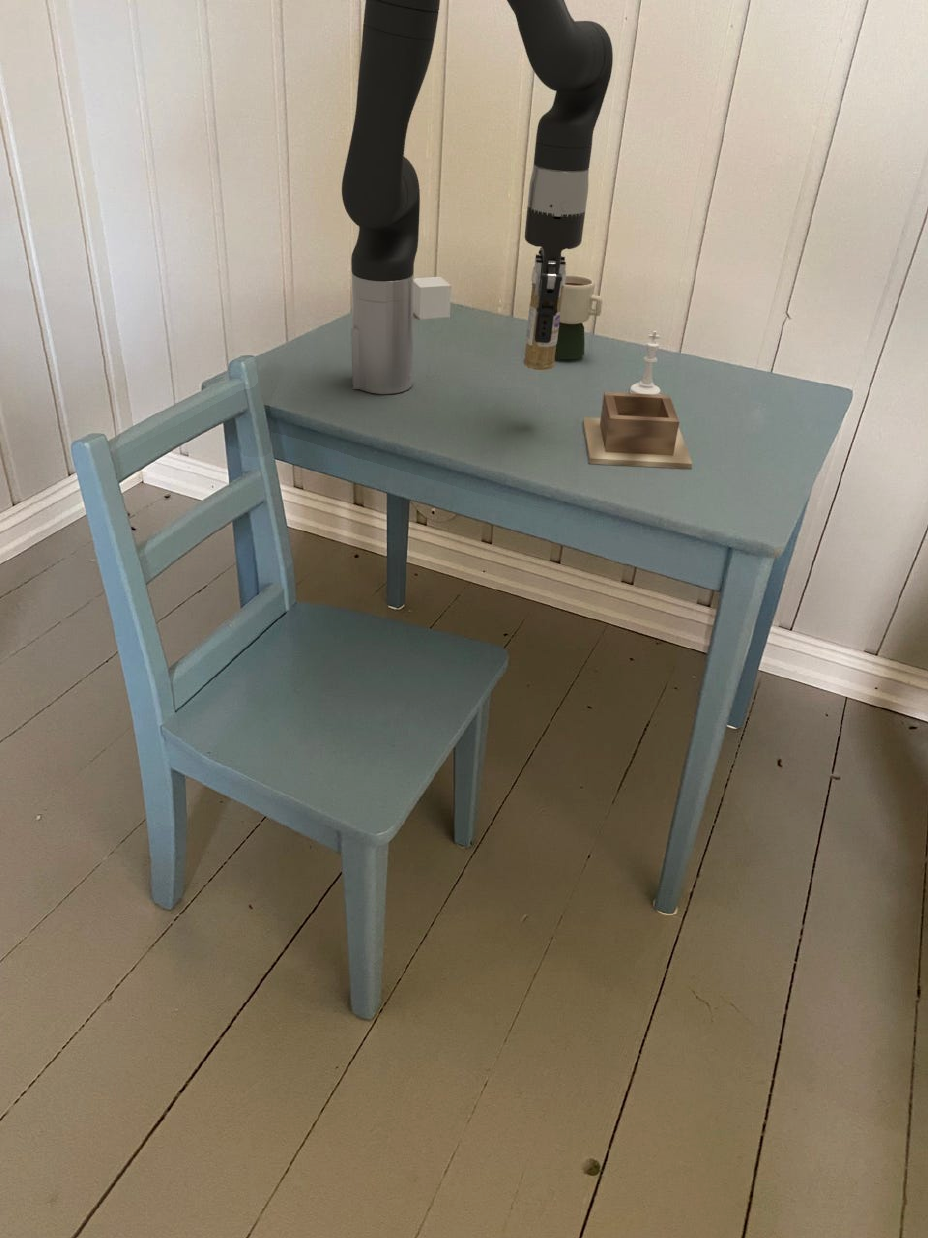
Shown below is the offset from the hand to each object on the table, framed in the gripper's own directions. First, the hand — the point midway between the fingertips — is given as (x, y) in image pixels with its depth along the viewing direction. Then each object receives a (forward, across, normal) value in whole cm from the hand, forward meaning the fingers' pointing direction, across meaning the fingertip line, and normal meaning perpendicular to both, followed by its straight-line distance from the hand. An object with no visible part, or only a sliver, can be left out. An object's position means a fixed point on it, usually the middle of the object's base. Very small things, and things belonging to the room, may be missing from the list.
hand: (541, 334), depth 129 cm
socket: (+13, +5, +15) cm, 20 cm away
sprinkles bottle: (+5, 0, 0) cm, 5 cm away
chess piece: (+13, -15, +19) cm, 28 cm away
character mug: (+14, -30, +6) cm, 34 cm away
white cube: (+14, -50, -19) cm, 55 cm away
